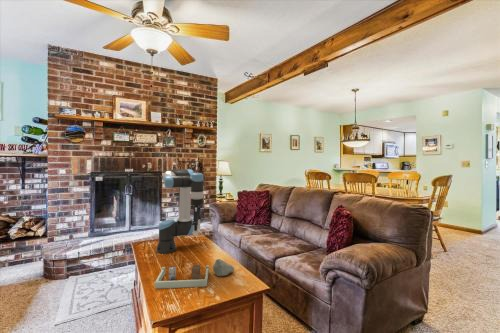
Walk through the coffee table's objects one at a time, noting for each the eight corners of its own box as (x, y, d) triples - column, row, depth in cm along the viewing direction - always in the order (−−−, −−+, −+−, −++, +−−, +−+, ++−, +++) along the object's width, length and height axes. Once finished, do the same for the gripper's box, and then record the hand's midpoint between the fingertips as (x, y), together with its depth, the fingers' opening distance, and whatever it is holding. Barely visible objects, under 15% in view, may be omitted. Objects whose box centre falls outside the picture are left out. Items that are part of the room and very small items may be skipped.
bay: (162, 273, 156) (162, 266, 155) (209, 272, 159) (209, 265, 159) (154, 288, 137) (154, 280, 137) (207, 286, 141) (207, 278, 141)
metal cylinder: (169, 277, 151) (169, 266, 151) (176, 277, 151) (176, 265, 151) (168, 280, 147) (168, 268, 147) (175, 280, 147) (175, 268, 147)
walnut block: (192, 276, 153) (192, 265, 153) (200, 276, 153) (200, 264, 153) (191, 279, 148) (192, 268, 148) (199, 279, 149) (199, 267, 149)
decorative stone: (212, 278, 150) (222, 266, 148) (209, 265, 159) (218, 254, 158) (228, 284, 156) (238, 272, 155) (224, 271, 165) (233, 260, 164)
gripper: (193, 195, 165) (192, 227, 165) (188, 201, 140) (187, 238, 141) (204, 195, 166) (204, 227, 166) (201, 201, 141) (201, 238, 142)
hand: (196, 232), depth 153 cm, fingers open, 13 cm apart
